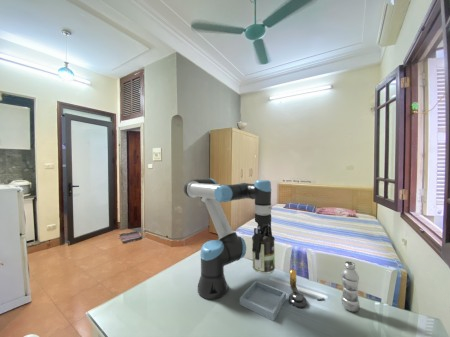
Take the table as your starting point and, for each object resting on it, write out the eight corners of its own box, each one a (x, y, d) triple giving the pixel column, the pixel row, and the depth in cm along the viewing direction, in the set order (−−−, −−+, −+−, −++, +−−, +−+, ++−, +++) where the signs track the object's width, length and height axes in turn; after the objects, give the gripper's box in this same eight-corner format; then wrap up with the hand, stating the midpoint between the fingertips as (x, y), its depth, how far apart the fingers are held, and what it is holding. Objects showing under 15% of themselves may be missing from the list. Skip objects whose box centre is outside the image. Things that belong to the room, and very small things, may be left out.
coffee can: (274, 262, 91) (273, 234, 91) (275, 275, 81) (275, 242, 81) (252, 261, 93) (252, 232, 93) (251, 272, 83) (251, 241, 83)
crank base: (286, 303, 86) (286, 300, 86) (291, 293, 92) (291, 291, 92) (304, 310, 81) (304, 308, 81) (308, 300, 88) (308, 297, 88)
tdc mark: (317, 300, 87) (317, 300, 87) (316, 299, 88) (316, 298, 88) (325, 300, 88) (325, 299, 88) (323, 298, 89) (323, 298, 89)
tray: (239, 304, 85) (239, 297, 85) (255, 286, 98) (255, 280, 98) (273, 321, 76) (273, 313, 76) (286, 298, 89) (286, 292, 89)
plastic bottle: (360, 316, 78) (360, 268, 78) (341, 310, 81) (340, 264, 81) (359, 306, 83) (358, 262, 83) (341, 301, 87) (341, 258, 87)
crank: (304, 302, 84) (304, 283, 84) (293, 302, 85) (293, 283, 85) (297, 285, 96) (297, 269, 96) (287, 285, 97) (287, 268, 96)
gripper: (259, 220, 76) (260, 275, 76) (279, 209, 94) (279, 254, 94) (243, 217, 80) (244, 269, 80) (265, 208, 98) (265, 250, 98)
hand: (263, 261), depth 87 cm, fingers closed on coffee can, 10 cm apart
